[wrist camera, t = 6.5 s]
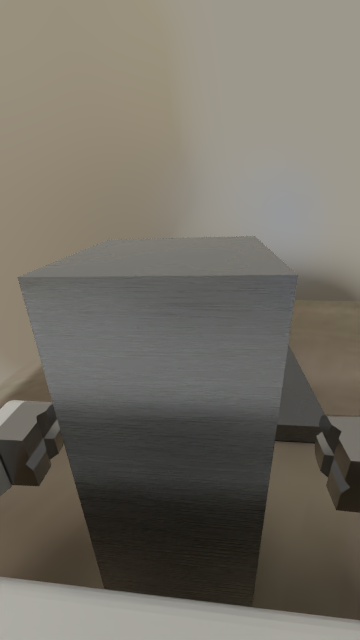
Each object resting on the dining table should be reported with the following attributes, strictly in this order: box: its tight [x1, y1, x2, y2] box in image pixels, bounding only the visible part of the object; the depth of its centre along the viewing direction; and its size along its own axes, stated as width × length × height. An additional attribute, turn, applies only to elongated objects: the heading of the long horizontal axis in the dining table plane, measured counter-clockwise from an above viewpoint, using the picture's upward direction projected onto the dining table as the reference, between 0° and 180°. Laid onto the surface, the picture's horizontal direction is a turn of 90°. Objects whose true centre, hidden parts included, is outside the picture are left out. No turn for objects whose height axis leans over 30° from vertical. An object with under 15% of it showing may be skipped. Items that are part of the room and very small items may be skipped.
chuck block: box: [275, 345, 325, 443], centre depth 23 cm, size 15×15×3 cm
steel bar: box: [18, 236, 298, 607], centre depth 8 cm, size 4×4×12 cm
